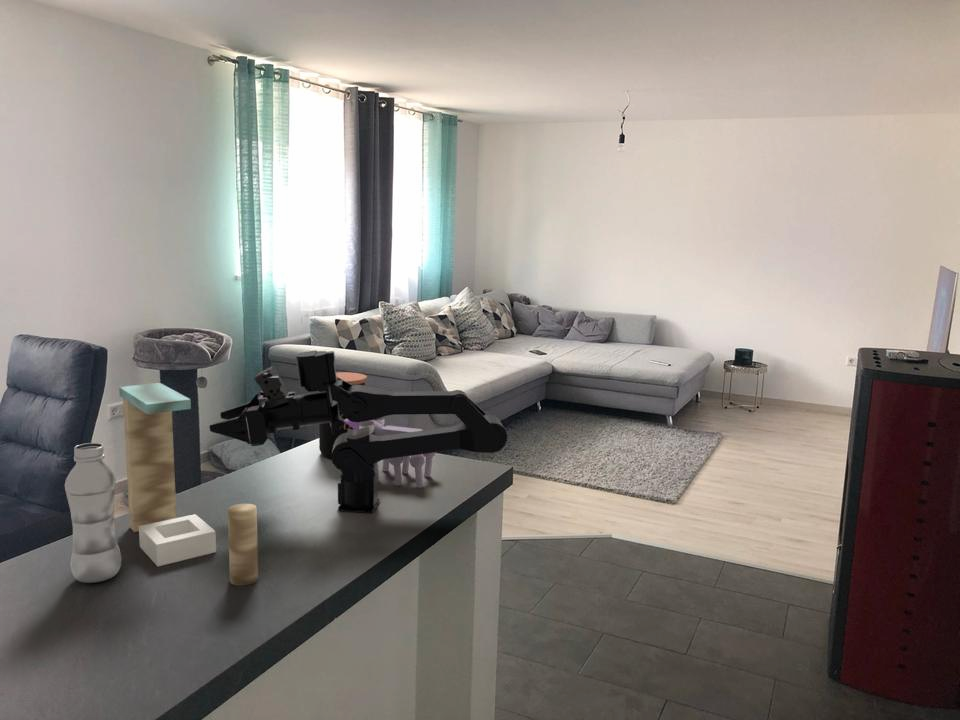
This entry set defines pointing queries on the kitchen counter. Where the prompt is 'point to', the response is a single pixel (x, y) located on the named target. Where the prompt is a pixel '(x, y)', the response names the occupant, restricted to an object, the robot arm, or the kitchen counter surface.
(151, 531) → the socket
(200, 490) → the kitchen counter surface
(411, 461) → the toy sheep
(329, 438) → the coffee jar
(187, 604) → the kitchen counter surface
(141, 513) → the tall textured pillar
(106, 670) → the kitchen counter surface
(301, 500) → the kitchen counter surface
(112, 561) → the plastic bottle
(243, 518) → the peg
